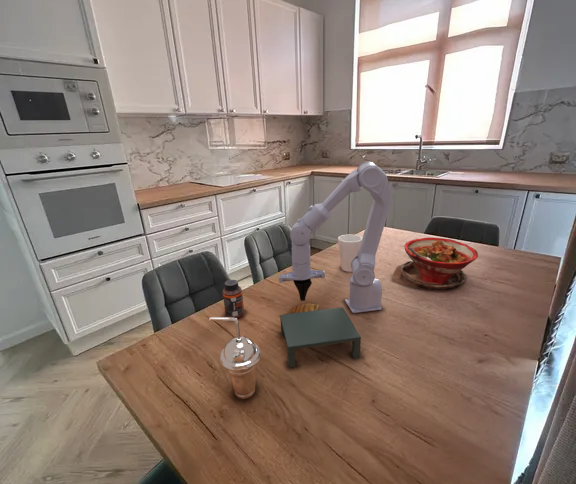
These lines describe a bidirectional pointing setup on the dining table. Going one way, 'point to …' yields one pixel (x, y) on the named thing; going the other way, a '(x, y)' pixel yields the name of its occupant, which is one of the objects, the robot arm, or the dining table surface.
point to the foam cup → (348, 249)
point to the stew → (434, 263)
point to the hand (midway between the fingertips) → (302, 299)
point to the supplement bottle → (233, 299)
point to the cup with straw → (240, 361)
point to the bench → (318, 330)
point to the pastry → (304, 308)
